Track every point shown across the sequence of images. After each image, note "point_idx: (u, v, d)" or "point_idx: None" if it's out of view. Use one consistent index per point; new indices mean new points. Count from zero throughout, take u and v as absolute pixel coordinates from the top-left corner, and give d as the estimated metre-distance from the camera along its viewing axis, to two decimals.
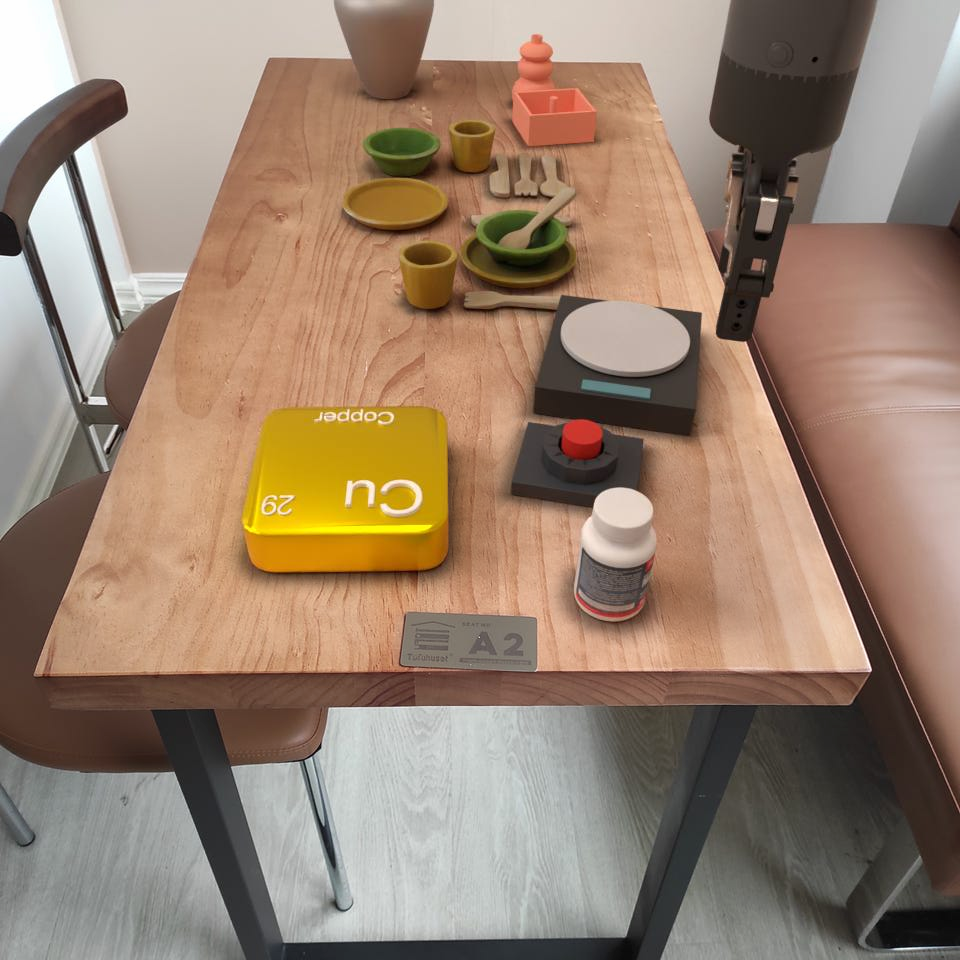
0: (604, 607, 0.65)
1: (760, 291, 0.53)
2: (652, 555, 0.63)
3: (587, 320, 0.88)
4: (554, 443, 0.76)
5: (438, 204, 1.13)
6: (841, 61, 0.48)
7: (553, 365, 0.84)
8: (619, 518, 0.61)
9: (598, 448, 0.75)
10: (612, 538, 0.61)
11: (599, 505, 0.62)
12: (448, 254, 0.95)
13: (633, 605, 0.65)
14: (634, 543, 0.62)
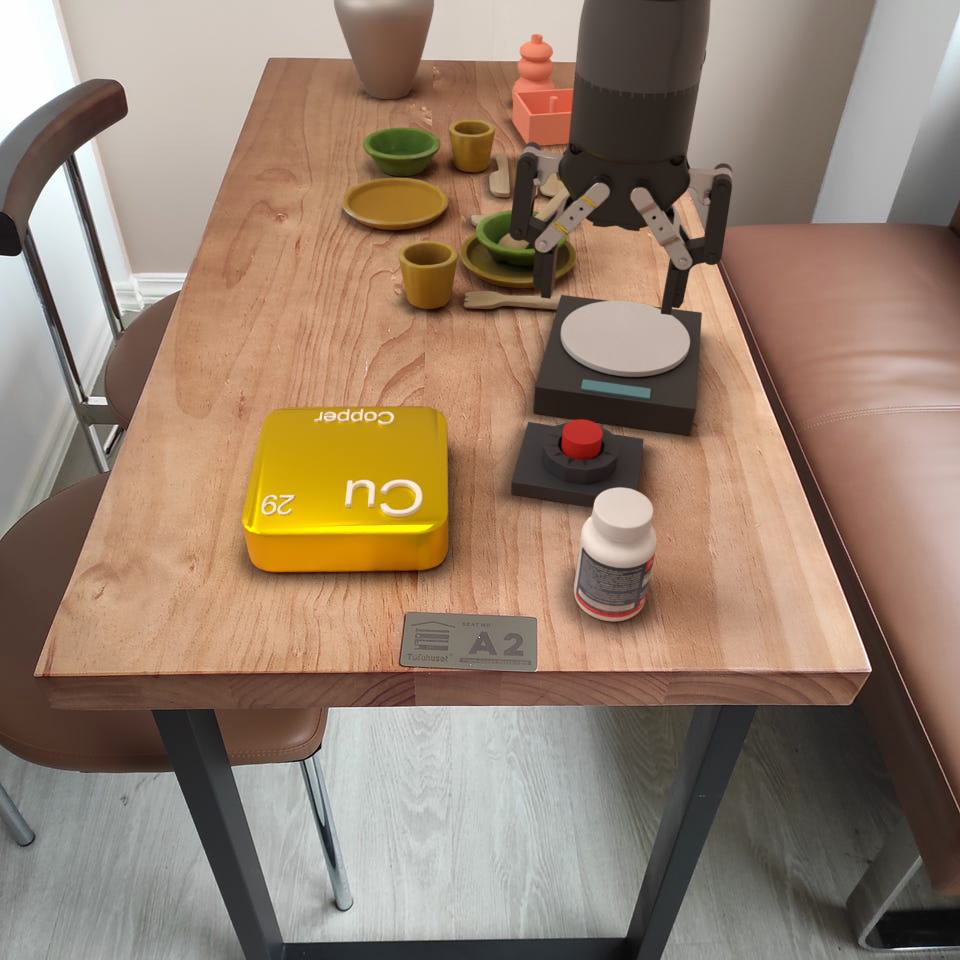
0: (604, 607, 0.65)
1: None
2: (652, 555, 0.63)
3: (587, 320, 0.88)
4: (554, 443, 0.76)
5: (438, 204, 1.13)
6: (586, 67, 0.54)
7: (553, 365, 0.84)
8: (619, 518, 0.61)
9: (598, 448, 0.75)
10: (612, 538, 0.61)
11: (599, 505, 0.62)
12: (448, 254, 0.95)
13: (633, 605, 0.65)
14: (634, 543, 0.62)
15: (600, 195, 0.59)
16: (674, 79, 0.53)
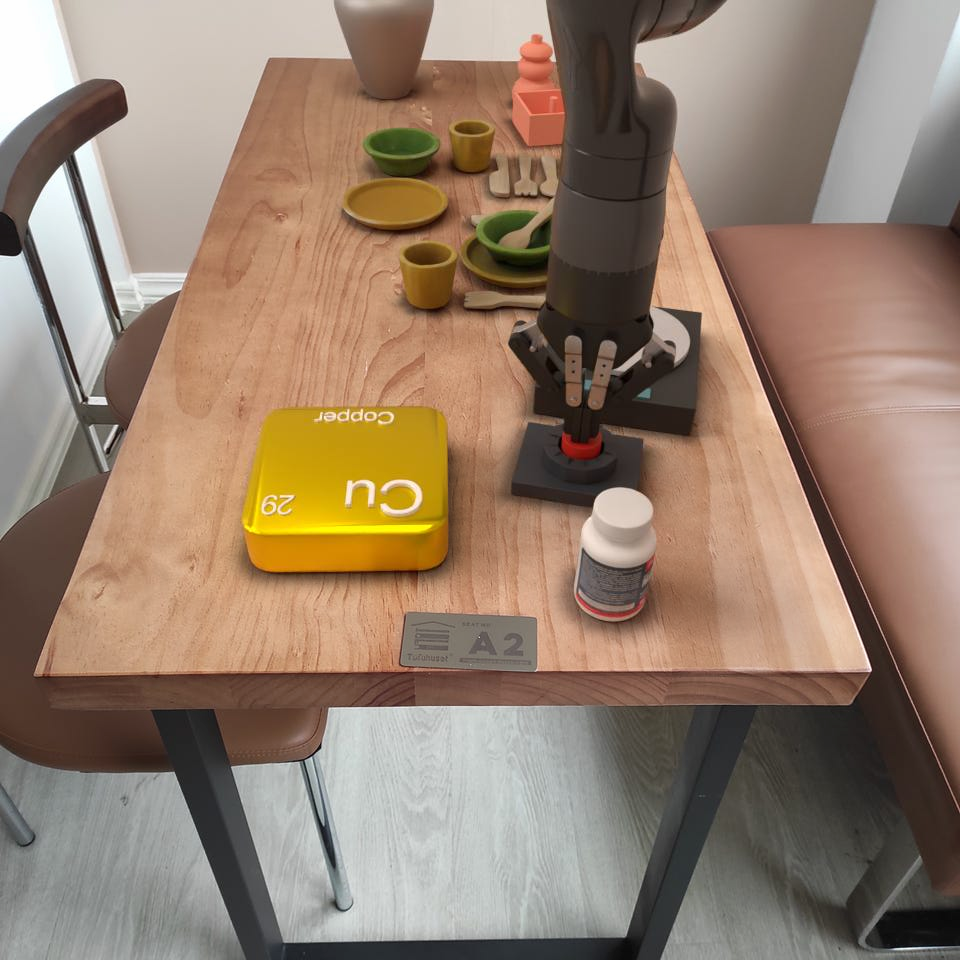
0: (604, 607, 0.65)
1: None
2: (652, 555, 0.63)
3: None
4: (554, 443, 0.76)
5: (438, 204, 1.13)
6: (558, 246, 0.62)
7: None
8: (619, 518, 0.61)
9: (597, 453, 0.75)
10: (612, 538, 0.61)
11: (599, 505, 0.62)
12: (448, 254, 0.95)
13: (633, 605, 0.65)
14: (633, 543, 0.62)
15: (573, 345, 0.67)
16: (634, 260, 0.61)
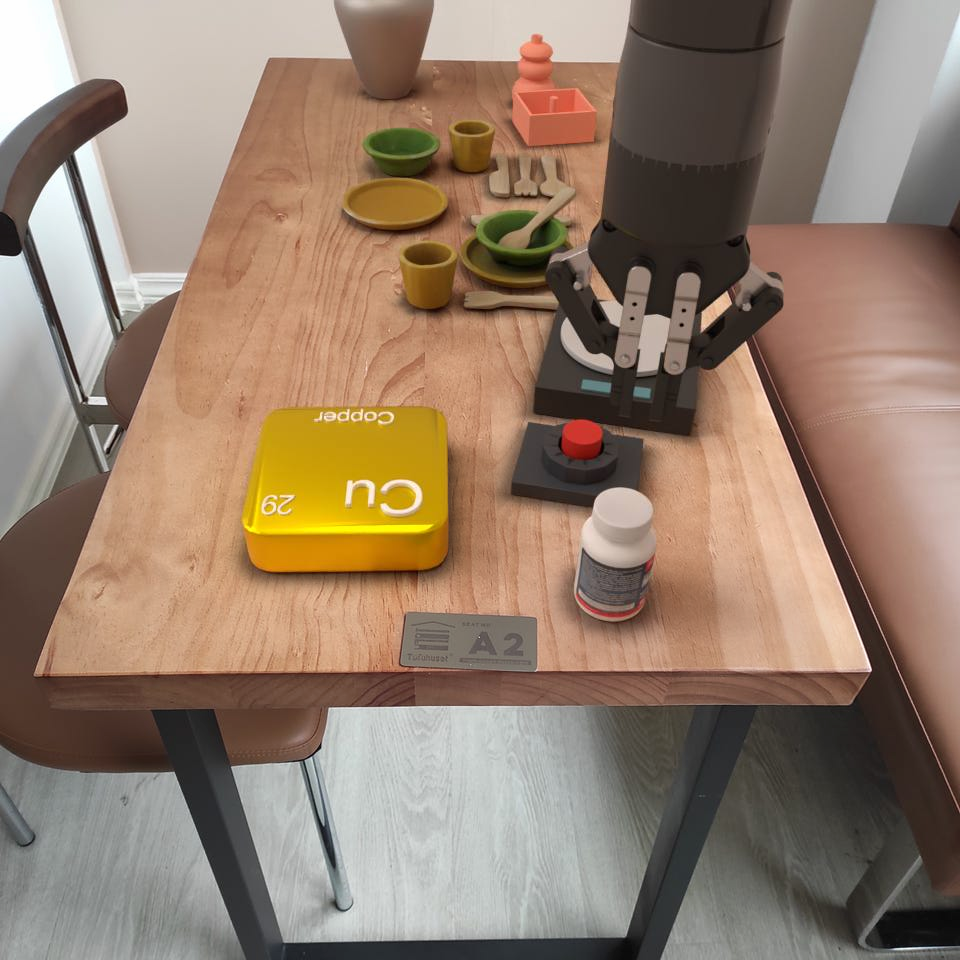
0: (604, 607, 0.65)
1: None
2: (652, 555, 0.63)
3: None
4: (554, 443, 0.76)
5: (438, 204, 1.13)
6: (625, 132, 0.43)
7: (553, 365, 0.84)
8: (619, 518, 0.61)
9: (598, 448, 0.75)
10: (612, 538, 0.61)
11: (599, 505, 0.62)
12: (448, 254, 0.95)
13: (633, 605, 0.65)
14: (634, 543, 0.62)
15: (639, 281, 0.49)
16: (737, 148, 0.42)
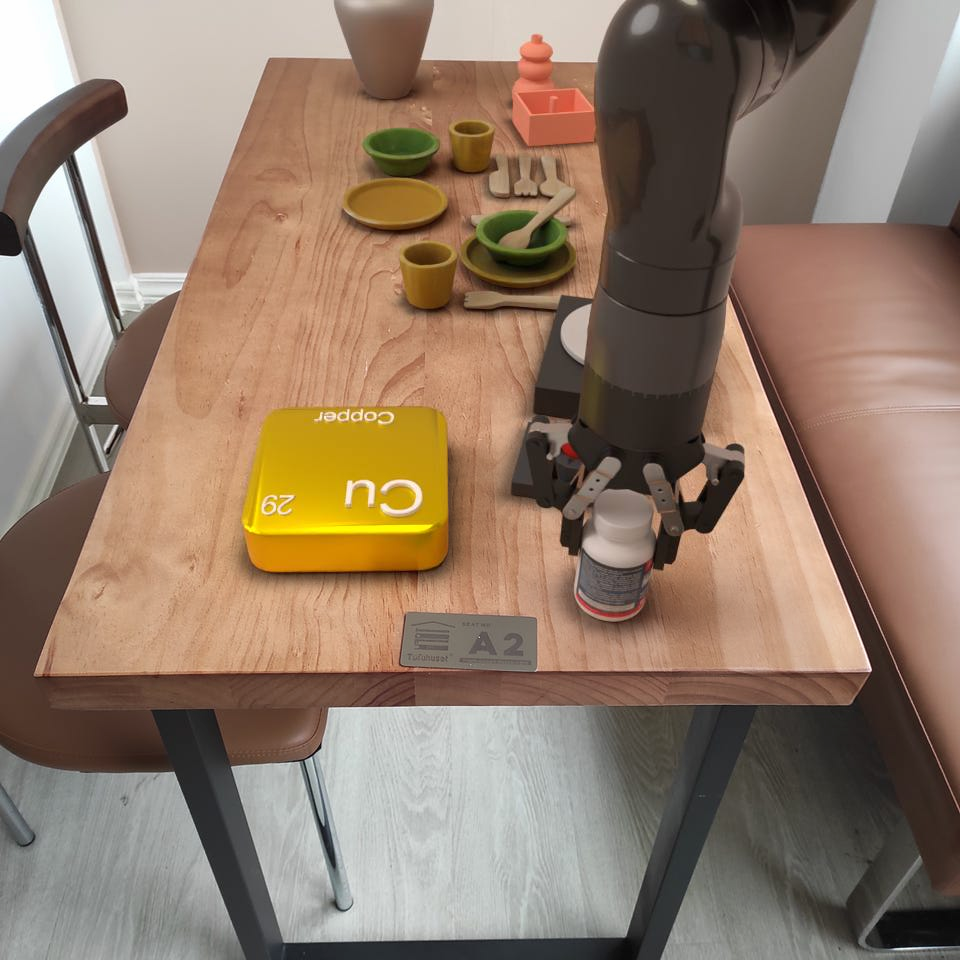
0: (604, 607, 0.65)
1: None
2: (652, 555, 0.63)
3: (587, 320, 0.88)
4: None
5: (438, 204, 1.13)
6: (596, 362, 0.52)
7: (553, 365, 0.84)
8: (618, 518, 0.61)
9: None
10: (612, 538, 0.61)
11: (599, 505, 0.62)
12: (448, 254, 0.95)
13: (633, 605, 0.65)
14: (633, 543, 0.62)
15: (611, 467, 0.57)
16: (689, 381, 0.51)
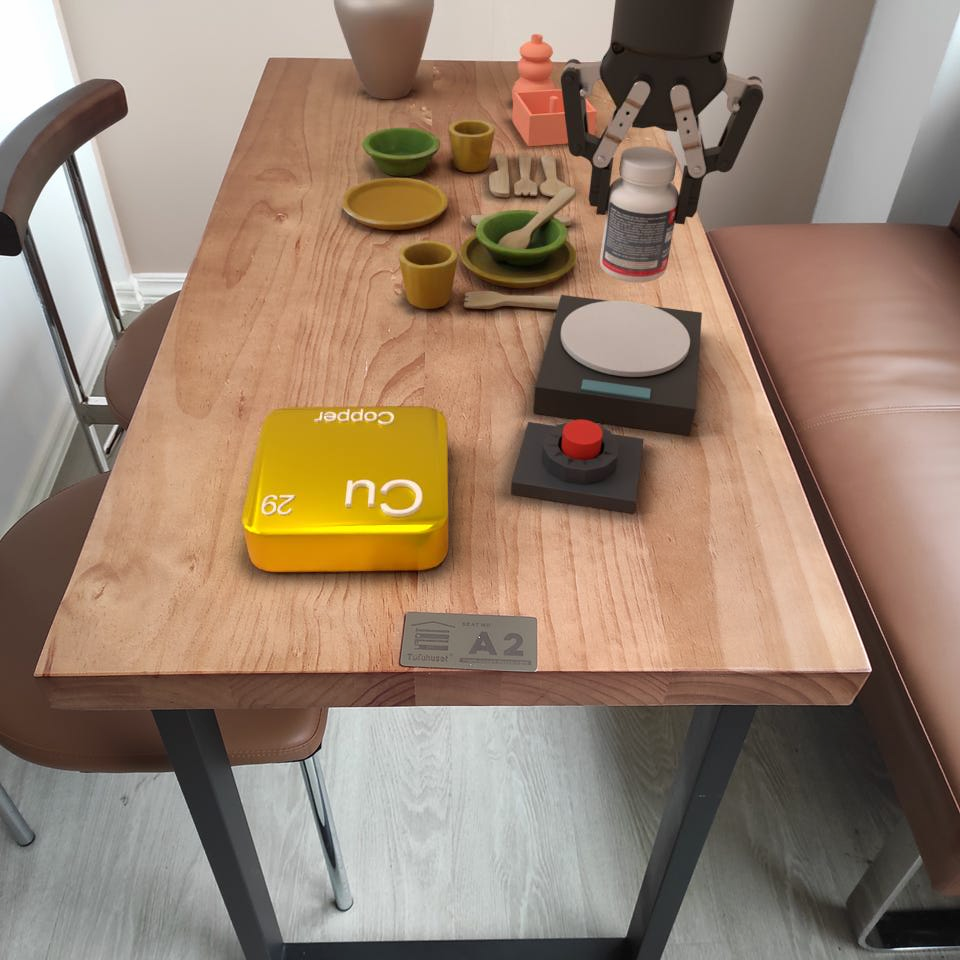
0: (630, 264, 0.70)
1: None
2: (675, 206, 0.68)
3: (587, 320, 0.88)
4: (554, 443, 0.76)
5: (438, 204, 1.13)
6: None
7: (553, 365, 0.84)
8: (645, 163, 0.66)
9: (598, 448, 0.75)
10: (639, 183, 0.66)
11: (626, 155, 0.67)
12: (448, 254, 0.95)
13: (656, 263, 0.70)
14: (658, 190, 0.67)
15: (641, 94, 0.62)
16: None
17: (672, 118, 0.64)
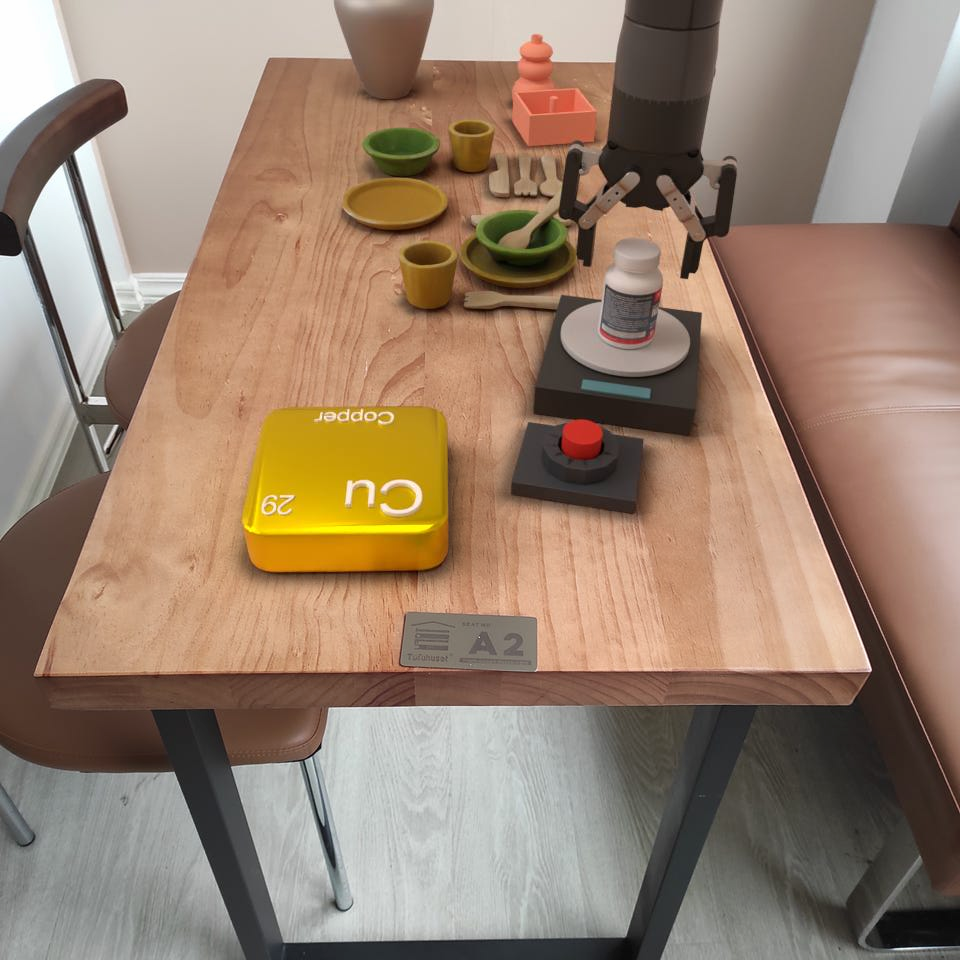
0: (622, 334, 0.83)
1: None
2: (659, 288, 0.81)
3: (587, 320, 0.88)
4: (554, 443, 0.76)
5: (438, 204, 1.13)
6: (622, 81, 0.70)
7: (553, 365, 0.84)
8: (634, 254, 0.80)
9: (598, 448, 0.75)
10: (629, 270, 0.80)
11: (619, 247, 0.81)
12: (448, 254, 0.95)
13: (644, 334, 0.84)
14: (645, 275, 0.81)
15: (632, 182, 0.75)
16: (691, 90, 0.68)
17: (659, 200, 0.76)
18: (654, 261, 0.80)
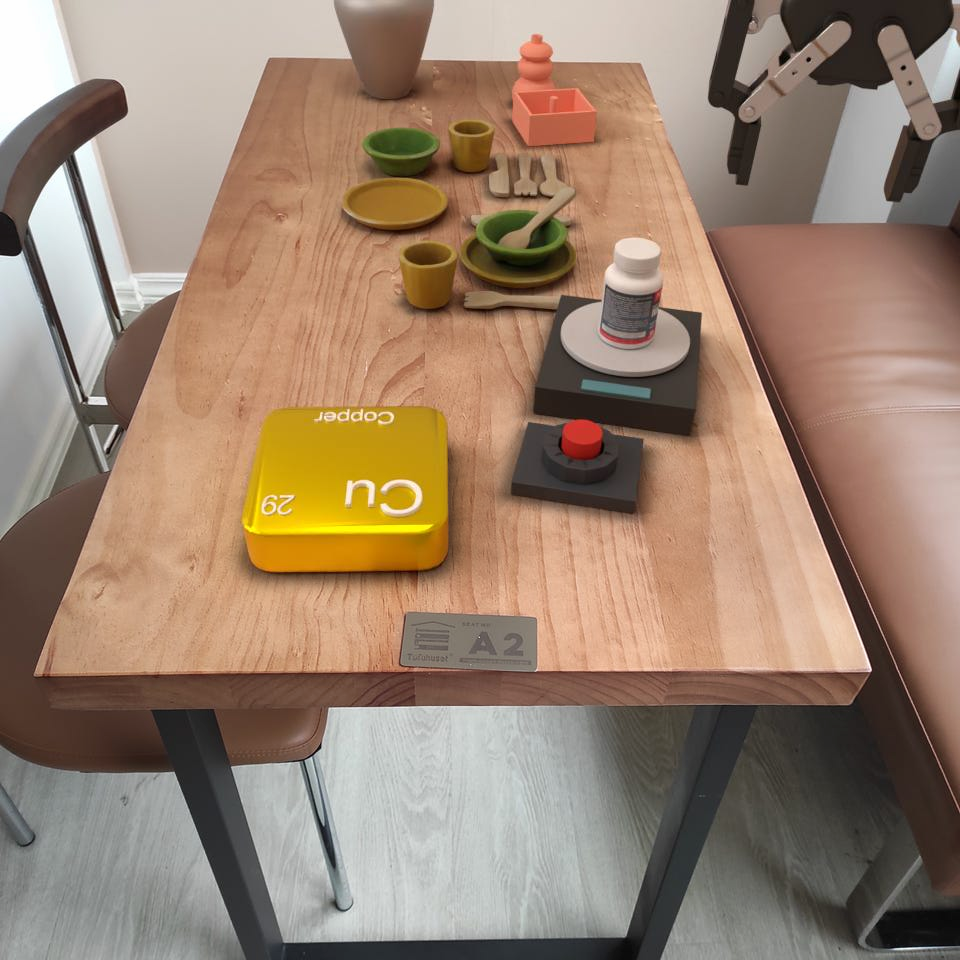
0: (622, 334, 0.83)
1: (708, 92, 0.51)
2: (659, 288, 0.81)
3: (587, 320, 0.88)
4: (554, 443, 0.76)
5: (438, 204, 1.13)
6: None
7: (553, 365, 0.84)
8: (634, 254, 0.80)
9: (598, 448, 0.75)
10: (629, 270, 0.80)
11: (619, 247, 0.81)
12: (448, 254, 0.95)
13: (644, 334, 0.84)
14: (645, 275, 0.81)
15: (838, 38, 0.47)
16: None
17: (873, 71, 0.49)
18: (654, 261, 0.80)
